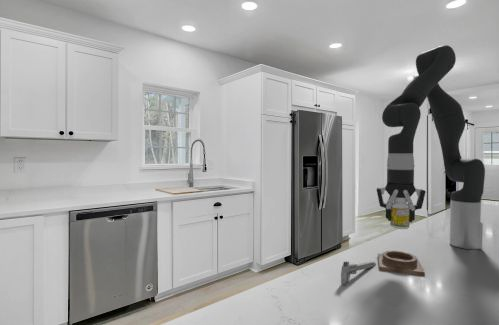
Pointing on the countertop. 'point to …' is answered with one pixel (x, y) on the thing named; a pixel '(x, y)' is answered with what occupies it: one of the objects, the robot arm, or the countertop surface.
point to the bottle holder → (400, 262)
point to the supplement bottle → (400, 214)
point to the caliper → (353, 270)
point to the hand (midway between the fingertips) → (399, 220)
